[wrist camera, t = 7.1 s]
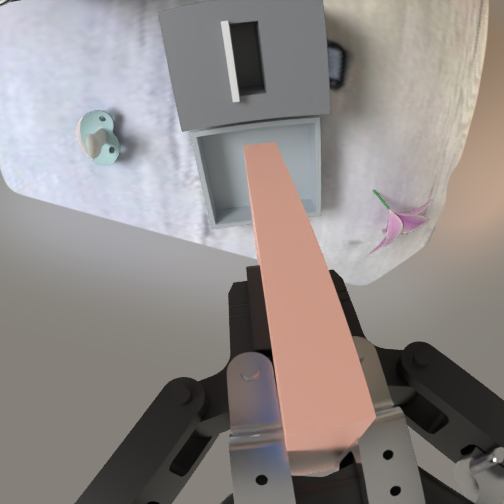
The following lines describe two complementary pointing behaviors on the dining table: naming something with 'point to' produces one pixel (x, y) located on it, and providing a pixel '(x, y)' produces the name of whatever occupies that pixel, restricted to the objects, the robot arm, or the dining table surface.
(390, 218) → the lily
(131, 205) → the dining table surface
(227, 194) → the bin
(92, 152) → the pacifier
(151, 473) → the robot arm
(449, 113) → the dining table surface
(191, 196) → the dining table surface
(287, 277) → the tall pink plank
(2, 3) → the drinking cup
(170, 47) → the dispenser
